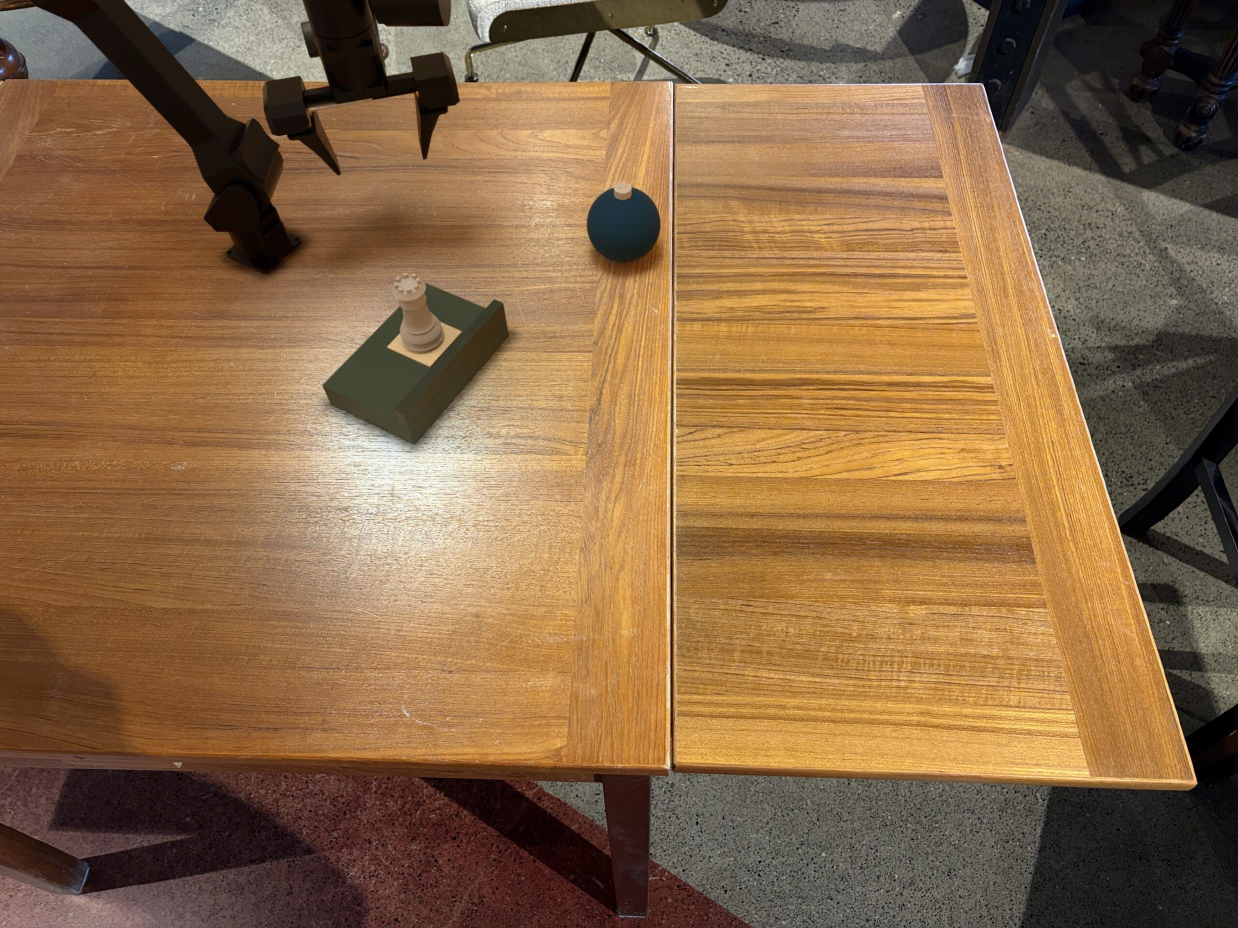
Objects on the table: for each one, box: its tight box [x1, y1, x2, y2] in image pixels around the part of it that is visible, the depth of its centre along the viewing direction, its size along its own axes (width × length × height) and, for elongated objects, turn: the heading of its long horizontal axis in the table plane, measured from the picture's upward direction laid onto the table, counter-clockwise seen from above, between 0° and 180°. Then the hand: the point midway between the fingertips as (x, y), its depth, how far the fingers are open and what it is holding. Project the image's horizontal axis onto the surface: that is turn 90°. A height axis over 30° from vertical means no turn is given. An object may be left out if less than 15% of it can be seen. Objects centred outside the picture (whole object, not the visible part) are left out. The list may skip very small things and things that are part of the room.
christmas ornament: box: [586, 181, 662, 264], centre depth 101 cm, size 8×8×10 cm
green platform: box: [322, 281, 510, 446], centre depth 93 cm, size 11×17×5 cm, turn 150°
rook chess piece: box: [391, 272, 444, 352], centre depth 90 cm, size 4×4×8 cm
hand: (382, 165), depth 96 cm, fingers open, 9 cm apart
